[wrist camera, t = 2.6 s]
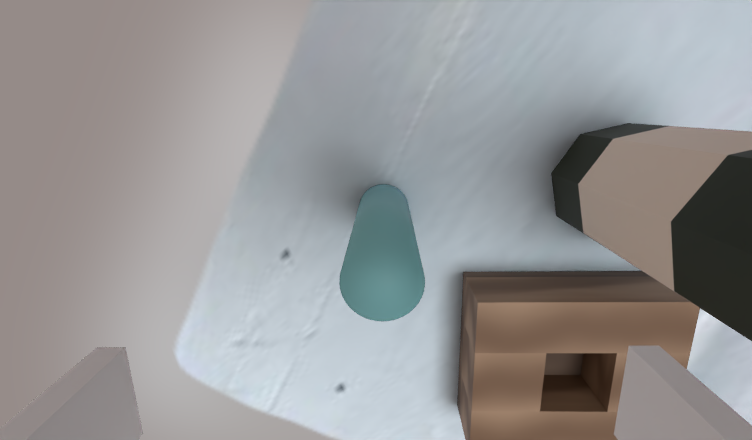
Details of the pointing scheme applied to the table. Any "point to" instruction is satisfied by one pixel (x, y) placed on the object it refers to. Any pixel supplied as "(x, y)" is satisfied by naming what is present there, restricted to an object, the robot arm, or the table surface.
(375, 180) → the table surface
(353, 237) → the pin
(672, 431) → the robot arm
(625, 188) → the wine bottle
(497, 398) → the bore block
